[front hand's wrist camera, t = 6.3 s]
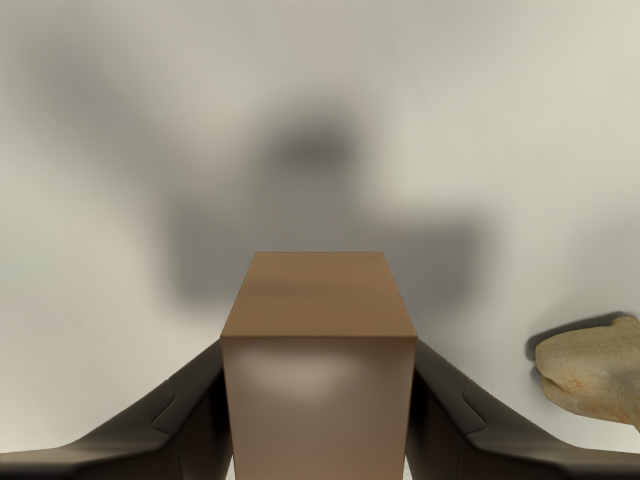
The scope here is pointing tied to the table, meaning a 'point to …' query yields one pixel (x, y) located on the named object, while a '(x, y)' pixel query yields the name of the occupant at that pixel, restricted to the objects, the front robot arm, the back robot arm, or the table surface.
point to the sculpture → (594, 371)
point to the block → (318, 368)
